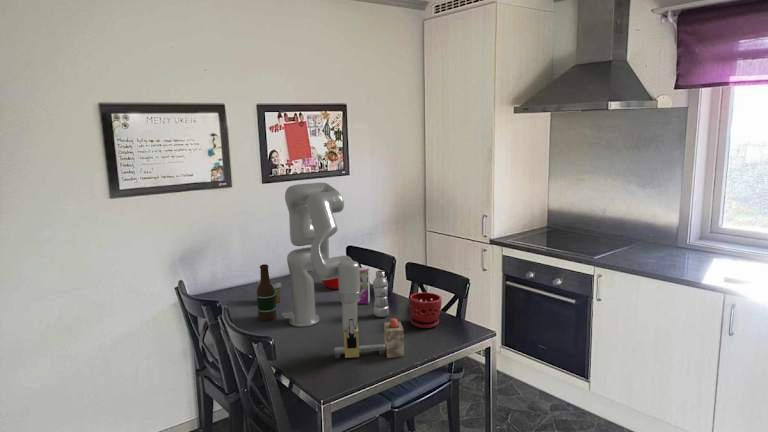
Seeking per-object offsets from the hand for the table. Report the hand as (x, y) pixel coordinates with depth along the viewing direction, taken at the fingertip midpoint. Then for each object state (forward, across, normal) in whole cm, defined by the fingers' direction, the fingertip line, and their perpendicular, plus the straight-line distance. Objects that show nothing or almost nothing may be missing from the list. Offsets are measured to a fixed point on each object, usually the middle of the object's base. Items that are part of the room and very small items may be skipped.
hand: (351, 343), depth 181 cm
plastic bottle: (+5, -36, +15) cm, 39 cm away
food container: (+5, -62, -36) cm, 72 cm away
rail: (+4, 0, +3) cm, 6 cm away
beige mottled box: (+4, 0, +15) cm, 16 cm away
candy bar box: (+5, -55, +6) cm, 55 cm away
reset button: (-4, 0, +15) cm, 16 cm away
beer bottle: (+5, -42, -34) cm, 54 cm away
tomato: (+5, -80, -5) cm, 80 cm away
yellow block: (+4, 0, 0) cm, 4 cm away
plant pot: (+5, -24, +32) cm, 40 cm away
